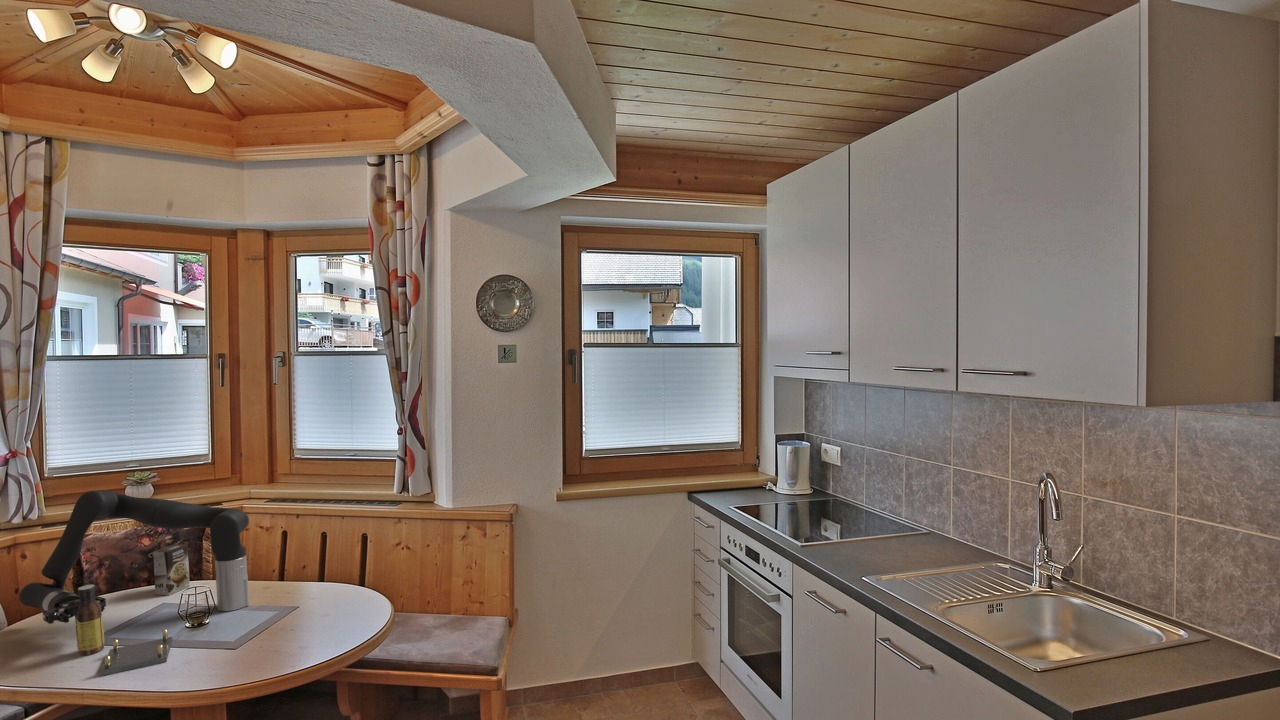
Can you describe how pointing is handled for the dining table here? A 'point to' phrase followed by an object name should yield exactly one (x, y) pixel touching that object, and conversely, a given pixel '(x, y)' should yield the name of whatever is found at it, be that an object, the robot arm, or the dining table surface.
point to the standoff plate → (136, 655)
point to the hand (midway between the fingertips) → (85, 613)
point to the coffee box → (171, 569)
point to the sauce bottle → (89, 622)
